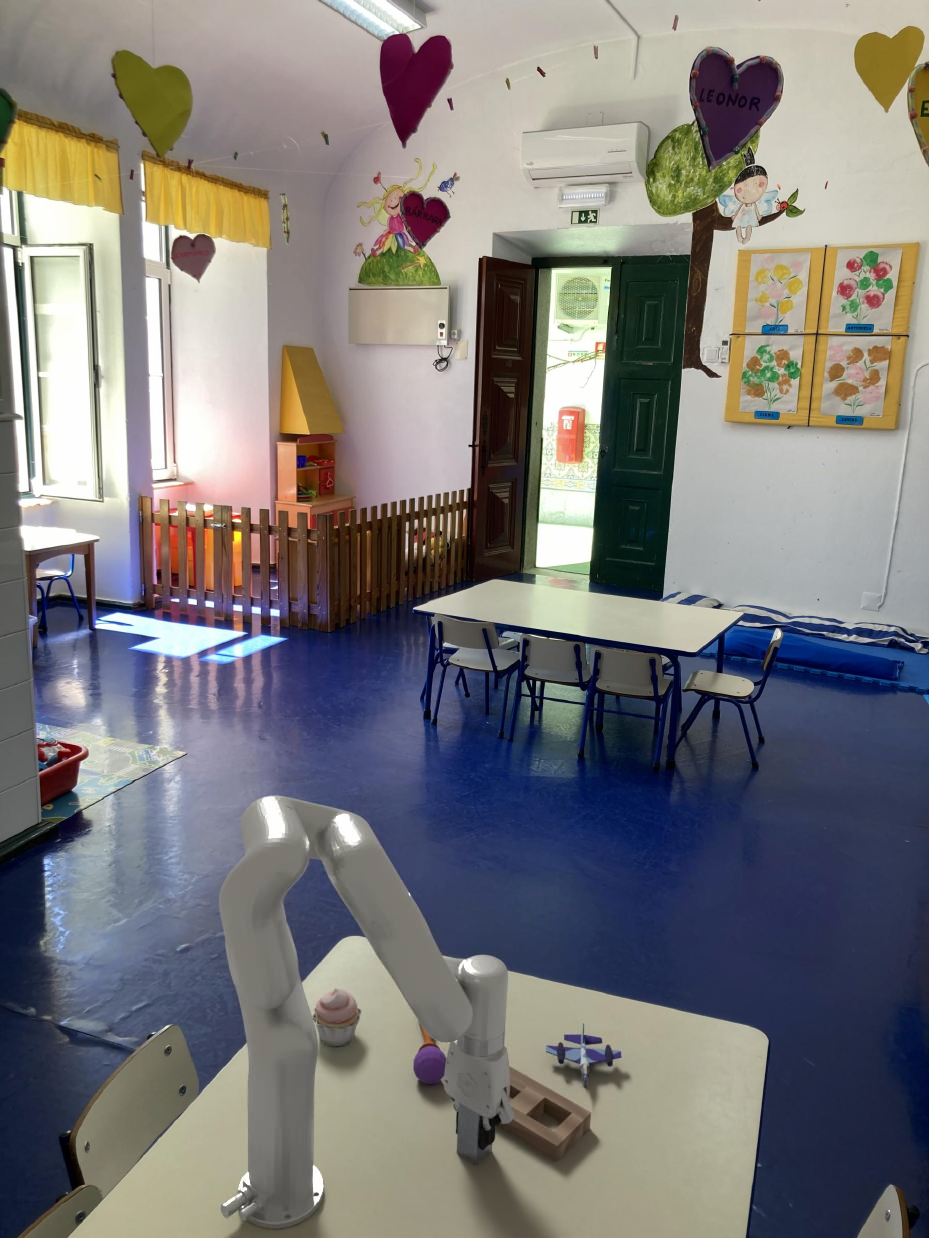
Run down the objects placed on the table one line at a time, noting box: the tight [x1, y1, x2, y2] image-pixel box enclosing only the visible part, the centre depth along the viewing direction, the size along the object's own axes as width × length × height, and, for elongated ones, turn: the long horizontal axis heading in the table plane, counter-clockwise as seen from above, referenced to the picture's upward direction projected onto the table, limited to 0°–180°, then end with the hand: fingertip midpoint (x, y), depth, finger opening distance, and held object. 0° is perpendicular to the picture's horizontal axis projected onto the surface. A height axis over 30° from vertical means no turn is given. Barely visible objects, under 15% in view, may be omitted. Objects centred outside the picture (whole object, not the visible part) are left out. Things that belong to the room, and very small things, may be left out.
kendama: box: [412, 1021, 447, 1085], centre depth 177 cm, size 6×6×20 cm
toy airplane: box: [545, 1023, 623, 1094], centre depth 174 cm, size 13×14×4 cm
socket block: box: [496, 1065, 592, 1163], centre depth 162 cm, size 10×20×3 cm, turn 51°
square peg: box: [456, 1102, 493, 1166], centre depth 153 cm, size 4×4×10 cm
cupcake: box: [311, 987, 363, 1047], centre depth 180 cm, size 9×9×10 cm
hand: (475, 1136), depth 154 cm, fingers closed on square peg, 4 cm apart
